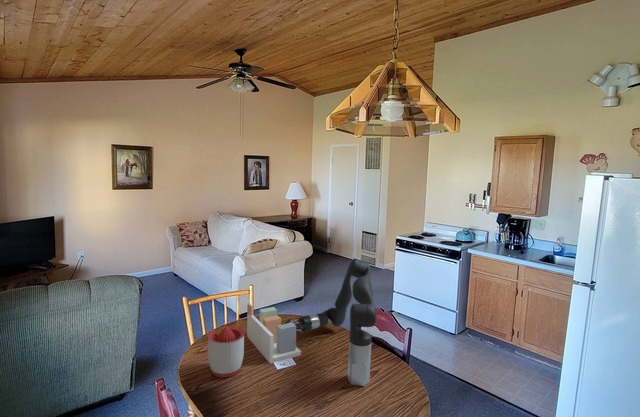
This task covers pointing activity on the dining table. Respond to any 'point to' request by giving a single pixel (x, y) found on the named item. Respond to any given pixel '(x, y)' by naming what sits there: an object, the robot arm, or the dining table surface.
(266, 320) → the terracotta block
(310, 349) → the dining table surface
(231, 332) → the citrus juicer
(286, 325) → the slate block
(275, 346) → the rack
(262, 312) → the sage block
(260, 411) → the dining table surface
